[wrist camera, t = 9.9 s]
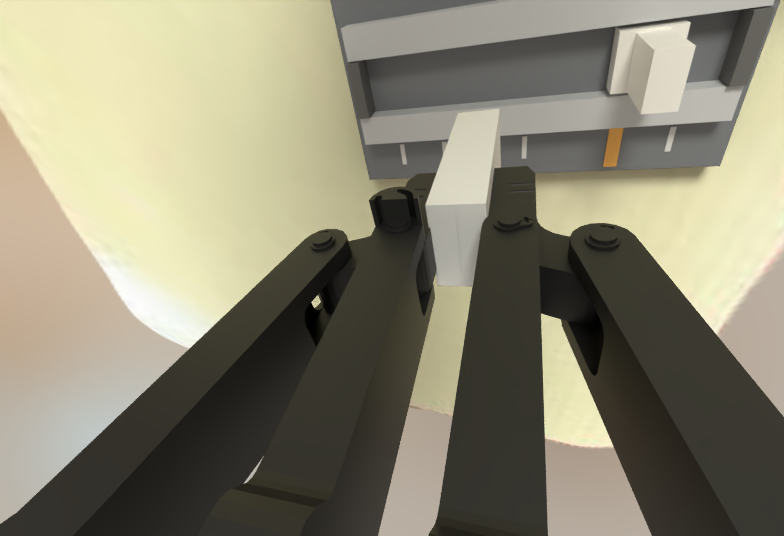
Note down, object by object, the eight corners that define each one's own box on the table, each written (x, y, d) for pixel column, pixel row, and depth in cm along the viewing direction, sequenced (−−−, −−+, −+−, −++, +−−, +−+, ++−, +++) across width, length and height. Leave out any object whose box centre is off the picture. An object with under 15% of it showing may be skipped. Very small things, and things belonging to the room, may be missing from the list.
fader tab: (615, 26, 28) (635, 49, 23) (682, 17, 27) (718, 38, 22) (606, 87, 30) (622, 118, 25) (667, 81, 29) (696, 113, 24)
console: (331, -41, 31) (311, -38, 28) (815, -148, 22) (859, -159, 19) (375, 170, 42) (363, 188, 39) (711, 155, 33) (729, 177, 30)
